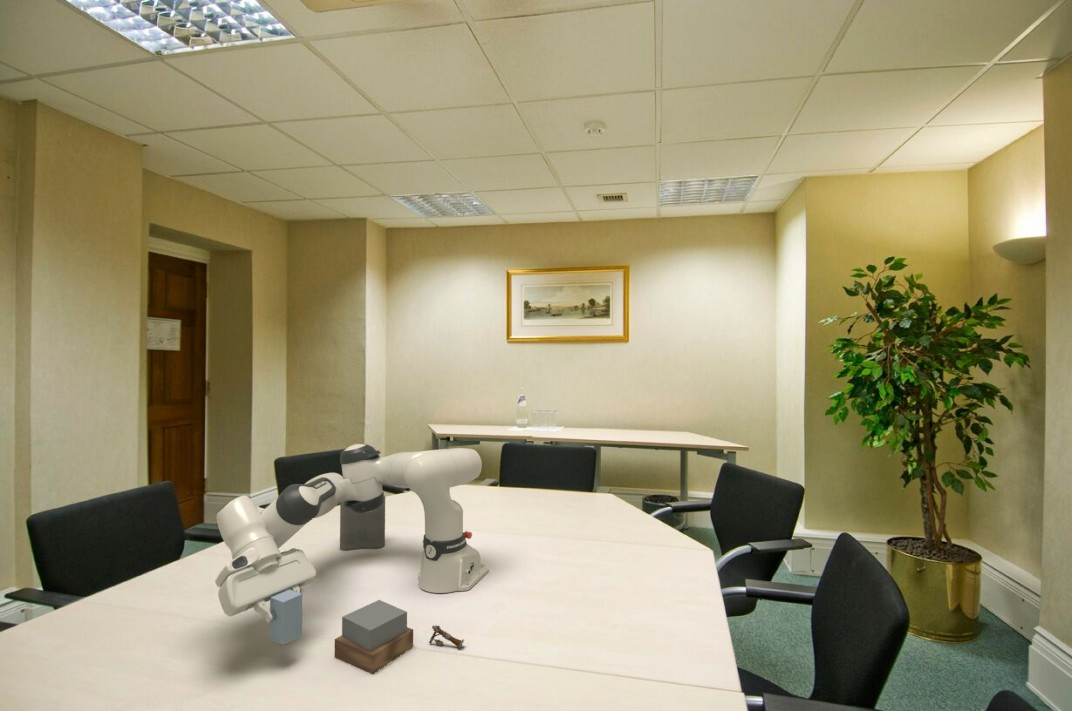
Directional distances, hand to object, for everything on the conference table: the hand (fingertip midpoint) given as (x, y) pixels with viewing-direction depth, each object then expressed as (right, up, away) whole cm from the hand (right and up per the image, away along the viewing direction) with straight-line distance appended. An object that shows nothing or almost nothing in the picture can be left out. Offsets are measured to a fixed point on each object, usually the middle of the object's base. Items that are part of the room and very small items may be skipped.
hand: (285, 614), depth 113 cm
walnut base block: (+18, -11, +4) cm, 22 cm away
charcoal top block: (+18, -7, +4) cm, 20 cm away
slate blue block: (0, -5, 0) cm, 5 cm away
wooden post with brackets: (+34, -11, +7) cm, 36 cm away
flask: (-6, -11, +68) cm, 69 cm away
